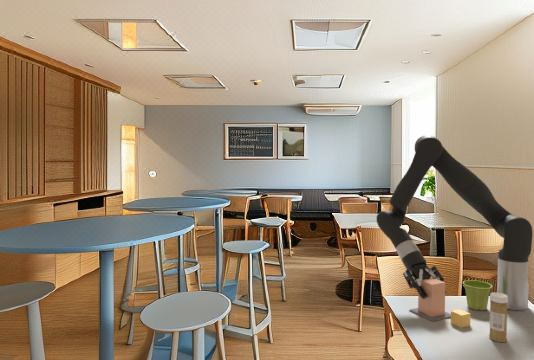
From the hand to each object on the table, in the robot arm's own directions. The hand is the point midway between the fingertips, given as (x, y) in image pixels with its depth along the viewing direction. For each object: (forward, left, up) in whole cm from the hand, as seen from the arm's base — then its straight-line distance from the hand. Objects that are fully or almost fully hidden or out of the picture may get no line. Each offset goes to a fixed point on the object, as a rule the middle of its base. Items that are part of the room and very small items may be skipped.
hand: (434, 296), depth 130 cm
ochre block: (-2, +9, -7) cm, 11 cm away
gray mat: (0, -1, -7) cm, 7 cm away
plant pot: (-20, +1, -7) cm, 21 cm away
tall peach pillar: (0, -1, -6) cm, 6 cm away
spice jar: (-3, +21, -7) cm, 22 cm away
